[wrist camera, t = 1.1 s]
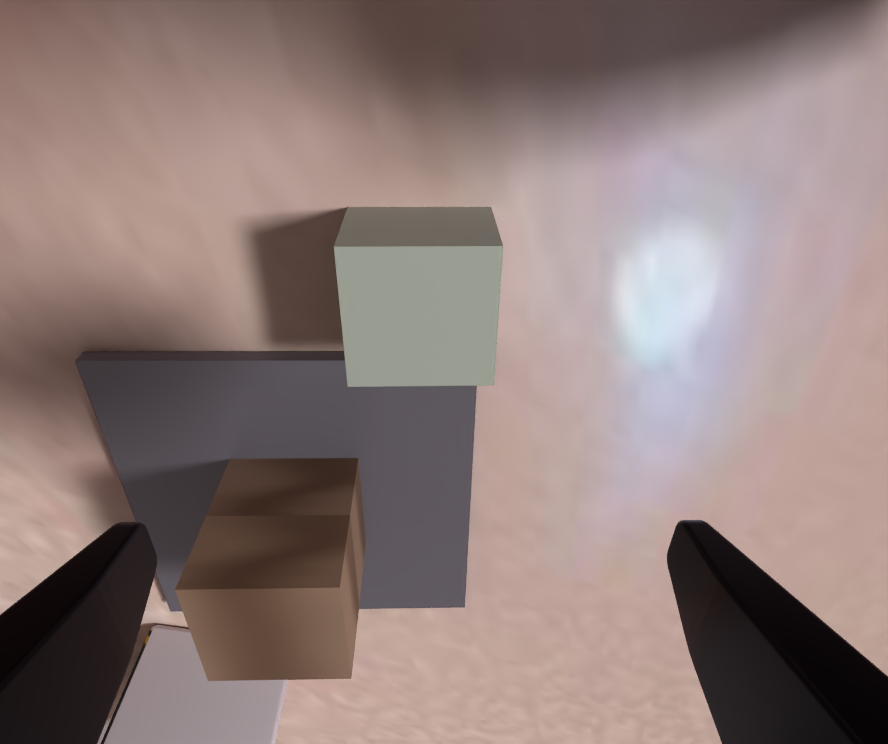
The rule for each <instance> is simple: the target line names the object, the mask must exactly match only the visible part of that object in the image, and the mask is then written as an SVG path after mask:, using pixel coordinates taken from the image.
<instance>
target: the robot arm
mask: <svg viewBox="0 0 888 744" xmlns="http://www.w3.org/2000/svg"><path fill="white" fill-rule="evenodd" d="M667 564H668V569H669V573H670V577H671V581H672V585H673V589H674V593H675V597H676V601H677V605H678V610H679V614H680V618H681V622H682V626H683V630H684V634H685V638H686V642H687V645H688V649H689V652H690V655H691V658H692V661H693V664H694V667H695V670H696V673H697V676H698V678H699V681H700V684H701V687H702V689H703V692H704V695H705V698H706V700H707V703H708V706H709V709H710V711H711V714H712V717H713V720H714V722H715V725H716V728H717V731H718V733H719V736H720V739H721V742H722V744H888V676H887V675H886V674H884V673H883V672H882V671H881V670H880V669H879V668H877V667H876V666H875V665H874V664H873V663H871V662H870V661H869V660H868V659H867V658H866V657H864V656H863V655H862V654H861V653H860V652H859V651H857V650H856V649H855V648H854V647H853V646H851V645H850V644H849V643H848V642H847V641H846V640H844V639H843V638H842V637H841V636H840V635H839V634H837V633H836V632H835V631H834V630H833V629H831V628H830V627H829V626H828V625H827V624H826V623H824V622H823V621H822V620H821V619H820V618H819V617H817V616H816V615H815V614H814V613H813V612H812V611H810V610H809V609H808V608H807V607H806V606H804V605H803V604H802V603H801V602H800V601H799V600H797V599H796V598H795V597H794V596H793V595H792V594H790V593H789V592H788V591H787V590H786V589H784V588H783V587H782V586H781V585H780V584H779V583H777V582H776V581H775V580H774V579H773V578H772V577H770V576H769V575H768V574H767V573H766V572H764V571H763V570H762V569H761V568H760V567H759V566H757V565H756V564H755V563H754V562H753V561H752V560H750V559H749V558H748V557H747V556H746V555H744V554H743V553H742V552H741V551H740V550H739V549H737V548H736V547H735V546H734V545H733V544H732V543H730V542H729V541H728V540H727V539H726V538H724V537H723V536H722V535H721V534H720V533H719V532H717V531H716V530H715V529H714V528H713V527H712V526H710V525H709V524H708V523H706V522H705V521H702V520H682V521H680V522H678V524H677V525H676V528H675V531H674V534H673V537H672V540H671V543H670V546H669V549H668V553H667ZM156 567H157V555H156V552H155V549H154V546H153V544H152V541H151V538H150V535H149V533H148V530H147V528H146V526H145V525H144V524H143V523H140V522H122V523H117V524H115V525H113V526H112V527H111V528H109V529H108V530H107V531H106V532H104V533H103V534H102V535H101V536H99V537H98V538H97V539H95V540H94V541H93V542H92V543H90V544H89V545H88V546H87V547H85V548H84V549H83V550H82V551H80V552H79V553H78V554H77V555H75V556H74V557H73V558H71V559H70V560H69V561H68V562H66V563H65V564H64V565H63V566H61V567H60V568H59V569H58V570H56V571H55V572H54V573H53V574H51V575H50V576H49V577H47V578H46V579H45V580H44V581H42V582H41V583H40V584H39V585H37V586H36V587H35V588H34V589H32V590H31V591H30V592H29V593H27V594H26V595H25V596H23V597H22V598H21V599H20V600H18V601H17V602H16V603H15V604H13V605H12V606H11V607H10V608H8V609H7V610H6V611H5V612H3V613H2V614H1V615H0V744H97V743H98V740H99V738H100V735H101V733H102V730H103V728H104V725H105V723H106V720H107V718H108V715H109V713H110V710H111V708H112V705H113V702H114V700H115V697H116V695H117V692H118V690H119V687H120V685H121V682H122V680H123V677H124V675H125V672H126V670H127V667H128V664H129V662H130V659H131V656H132V653H133V649H134V646H135V643H136V639H137V636H138V632H139V629H140V625H141V621H142V618H143V614H144V611H145V607H146V604H147V600H148V596H149V593H150V589H151V586H152V582H153V579H154V575H155V571H156Z"/></svg>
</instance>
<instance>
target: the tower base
mask: <svg viewBox="0 0 888 744" xmlns="http://www.w3.org/2000/svg"><path fill="white" fill-rule="evenodd" d="M284 515H350V518H351V528H352V538H353V548H354V557H355V567H356V577H357V587H358V597H359V602H360V593H361V584H362V574H363V565H364V556H365V547H366V542H365V530H364V519H363V507H362V495H361V483H360V471H359V459H358V458H273V459H229V462H228V464H227V467H226V469H225V471H224V474H223V476H222V479H221V481H220V483H219V486H218V488H217V490H216V493H215V495H214V498H213V500H212V502H211V505H210V507H209V510H208V512H207V514H206V516H284Z"/></svg>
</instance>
